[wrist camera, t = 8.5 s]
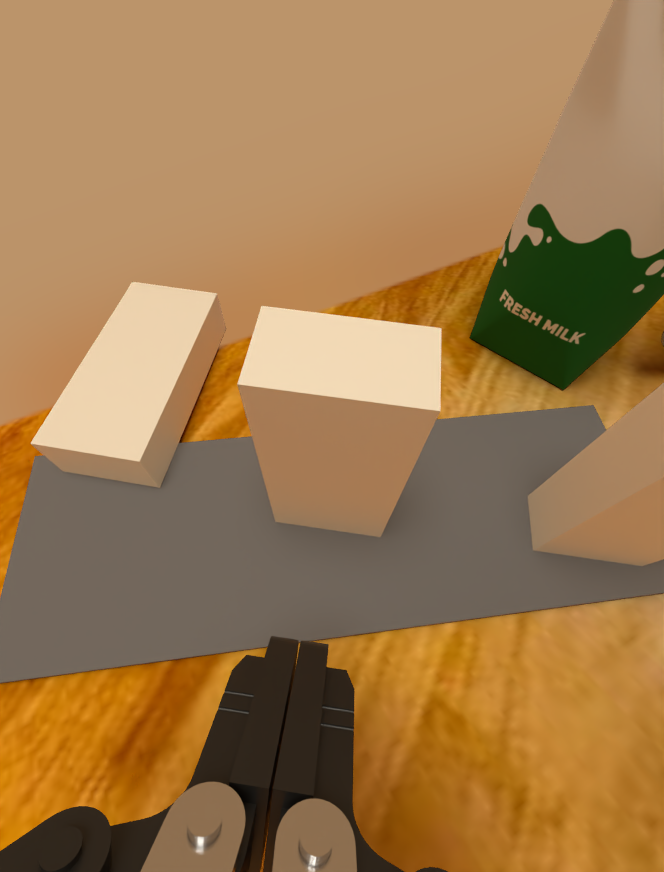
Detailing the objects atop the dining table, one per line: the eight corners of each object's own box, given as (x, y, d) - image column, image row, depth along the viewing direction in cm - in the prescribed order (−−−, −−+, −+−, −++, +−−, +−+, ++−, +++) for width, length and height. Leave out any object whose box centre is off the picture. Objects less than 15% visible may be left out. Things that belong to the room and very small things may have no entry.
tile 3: (160, 489, 23) (226, 330, 29) (139, 461, 20) (217, 293, 26) (64, 472, 23) (149, 319, 29) (30, 443, 20) (132, 281, 26)
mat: (589, 408, 26) (593, 405, 26) (681, 590, 21) (687, 589, 21) (39, 459, 24) (34, 456, 23) (-15, 685, 18) (-22, 685, 18)
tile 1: (385, 481, 23) (441, 324, 13) (380, 537, 22) (440, 411, 11) (287, 467, 23) (262, 301, 13) (275, 521, 22) (237, 384, 11)
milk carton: (451, 339, 29) (654, -161, 12) (510, 272, 33) (732, -187, 15) (571, 407, 26) (1060, -99, 9) (620, 326, 30) (1037, -148, 13)
